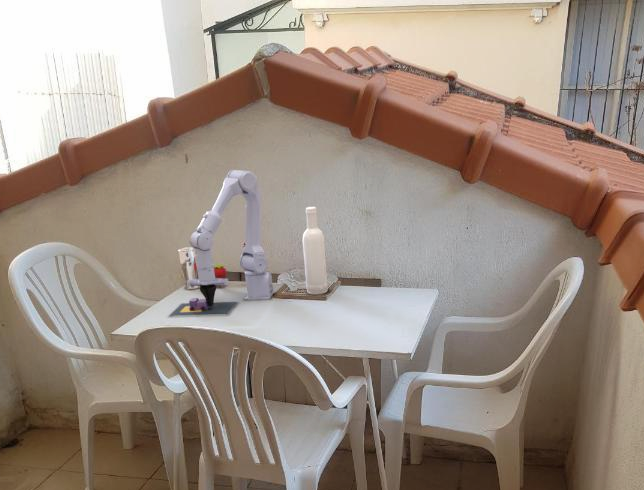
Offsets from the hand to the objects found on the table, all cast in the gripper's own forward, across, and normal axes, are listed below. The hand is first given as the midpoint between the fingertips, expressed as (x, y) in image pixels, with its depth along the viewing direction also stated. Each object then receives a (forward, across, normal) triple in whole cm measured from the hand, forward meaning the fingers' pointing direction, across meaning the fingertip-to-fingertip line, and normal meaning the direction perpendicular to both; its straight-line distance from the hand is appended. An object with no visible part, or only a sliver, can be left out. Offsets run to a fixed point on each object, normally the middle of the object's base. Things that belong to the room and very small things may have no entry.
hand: (211, 305), depth 246 cm
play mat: (+1, -3, 0) cm, 3 cm away
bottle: (+2, +36, +18) cm, 40 cm away
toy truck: (+1, -4, 0) cm, 5 cm away
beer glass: (+2, -16, +30) cm, 34 cm away
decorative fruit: (-4, -5, +29) cm, 30 cm away
